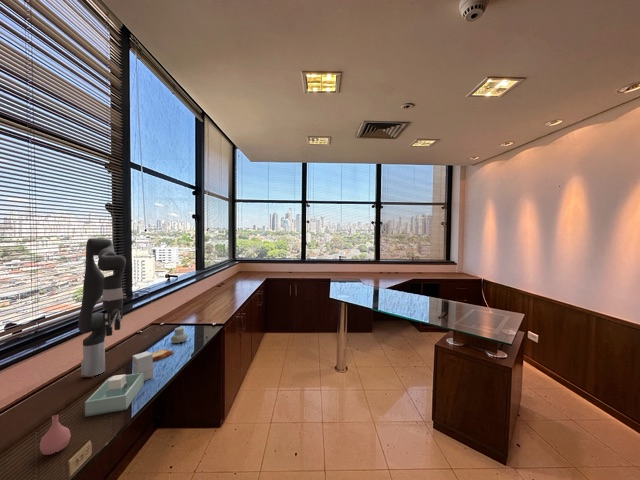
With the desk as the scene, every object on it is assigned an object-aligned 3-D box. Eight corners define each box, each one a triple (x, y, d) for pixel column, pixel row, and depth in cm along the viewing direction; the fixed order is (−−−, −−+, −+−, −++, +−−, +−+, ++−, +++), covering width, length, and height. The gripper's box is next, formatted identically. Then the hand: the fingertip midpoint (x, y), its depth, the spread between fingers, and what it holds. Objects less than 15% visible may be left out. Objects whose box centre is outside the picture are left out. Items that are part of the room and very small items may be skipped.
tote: (85, 416, 111) (84, 402, 112) (109, 389, 132) (109, 377, 132) (126, 409, 116) (125, 395, 116) (143, 384, 136) (143, 372, 136)
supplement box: (148, 373, 148) (147, 350, 148) (153, 377, 143) (153, 353, 143) (132, 379, 142) (132, 355, 142) (137, 383, 137) (136, 358, 137)
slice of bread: (133, 367, 156) (133, 361, 156) (143, 355, 174) (143, 349, 174) (167, 362, 162) (167, 356, 162) (174, 351, 179) (174, 345, 179)
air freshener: (168, 343, 193) (168, 329, 193) (178, 339, 201) (177, 326, 201) (180, 344, 190) (180, 330, 190) (189, 340, 198) (189, 327, 198)
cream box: (108, 390, 121) (107, 381, 121) (113, 384, 126) (113, 375, 126) (120, 388, 122) (120, 379, 122) (125, 382, 127) (125, 374, 127)
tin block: (106, 402, 120) (106, 390, 120) (112, 394, 126) (112, 384, 126) (122, 399, 122) (121, 388, 122) (127, 392, 128) (127, 381, 128)
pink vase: (51, 461, 88) (50, 424, 89) (33, 458, 90) (32, 422, 90) (76, 444, 96) (76, 410, 96) (59, 441, 97) (59, 408, 98)
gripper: (110, 295, 132) (111, 329, 132) (95, 301, 119) (96, 338, 118) (128, 294, 134) (128, 327, 134) (115, 300, 121) (116, 336, 121)
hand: (113, 332), depth 126 cm, fingers open, 8 cm apart
